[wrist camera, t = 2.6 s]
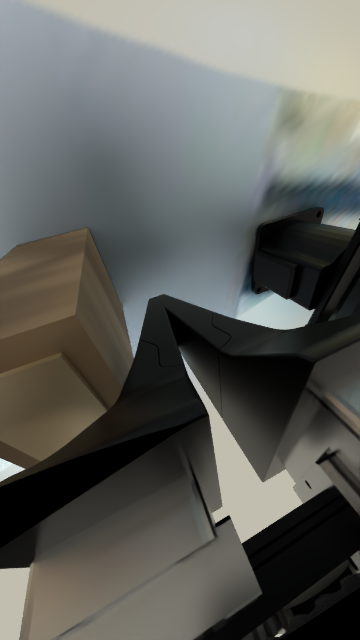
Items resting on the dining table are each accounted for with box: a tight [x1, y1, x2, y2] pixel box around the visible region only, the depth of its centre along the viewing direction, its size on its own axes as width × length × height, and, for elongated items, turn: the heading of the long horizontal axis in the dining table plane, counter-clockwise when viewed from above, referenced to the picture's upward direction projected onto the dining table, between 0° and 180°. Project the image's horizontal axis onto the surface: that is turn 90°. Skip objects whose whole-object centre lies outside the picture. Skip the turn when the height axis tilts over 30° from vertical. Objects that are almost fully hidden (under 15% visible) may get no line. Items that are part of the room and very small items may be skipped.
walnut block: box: [0, 227, 134, 469], centre depth 9 cm, size 4×6×10 cm, turn 10°
